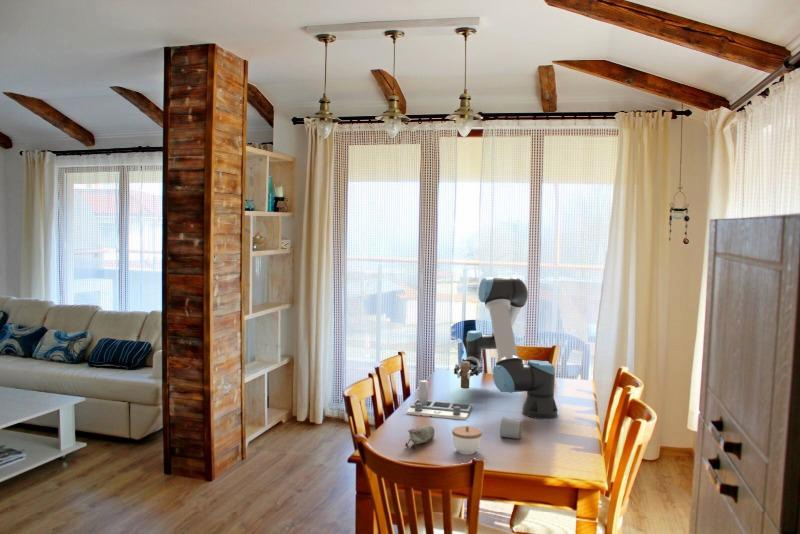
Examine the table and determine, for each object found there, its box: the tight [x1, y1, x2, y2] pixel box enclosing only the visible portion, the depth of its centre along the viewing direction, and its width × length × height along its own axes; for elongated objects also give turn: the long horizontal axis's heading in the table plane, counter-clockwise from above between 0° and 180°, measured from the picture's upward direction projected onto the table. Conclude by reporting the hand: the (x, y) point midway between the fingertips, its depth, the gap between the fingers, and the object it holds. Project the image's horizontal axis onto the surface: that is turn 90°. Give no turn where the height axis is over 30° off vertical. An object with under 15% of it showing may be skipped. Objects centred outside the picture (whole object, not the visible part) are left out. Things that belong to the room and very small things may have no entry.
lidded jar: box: [451, 425, 483, 456], centre depth 218 cm, size 11×11×9 cm
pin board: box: [409, 379, 473, 415], centre depth 269 cm, size 26×11×12 cm, turn 75°
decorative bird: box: [404, 424, 435, 450], centre depth 226 cm, size 5×16×7 cm, turn 144°
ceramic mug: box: [499, 416, 524, 440], centre depth 236 cm, size 11×8×8 cm
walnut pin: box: [460, 360, 470, 390], centre depth 279 cm, size 4×4×12 cm
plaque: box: [406, 403, 469, 421], centre depth 261 cm, size 26×6×4 cm, turn 75°
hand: (463, 375), depth 274 cm, fingers closed on walnut pin, 4 cm apart
